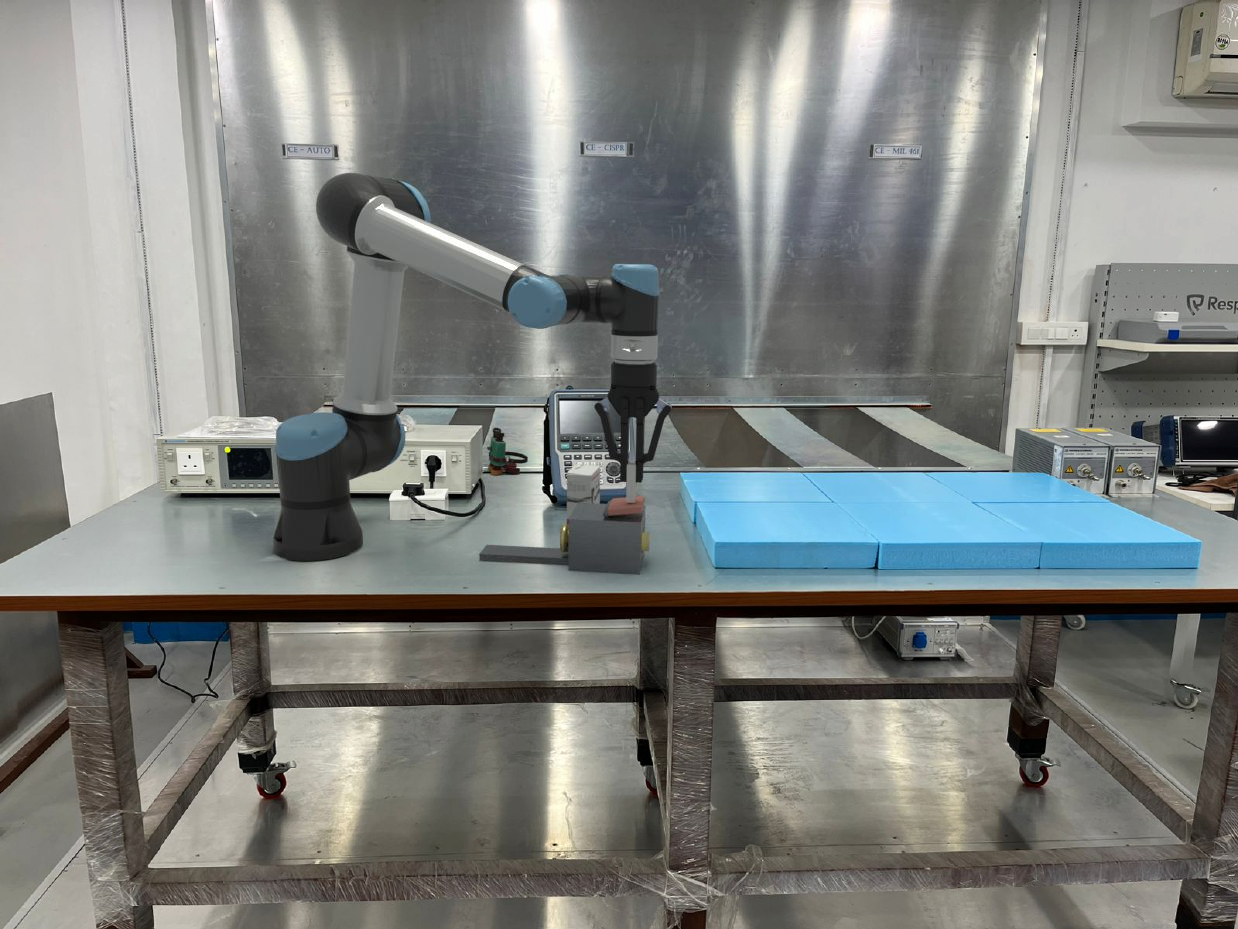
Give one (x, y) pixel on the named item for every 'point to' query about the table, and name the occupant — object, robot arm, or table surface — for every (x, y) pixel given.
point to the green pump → (502, 455)
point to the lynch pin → (565, 539)
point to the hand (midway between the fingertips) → (631, 500)
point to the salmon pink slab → (624, 506)
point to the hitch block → (586, 543)
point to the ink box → (582, 486)
